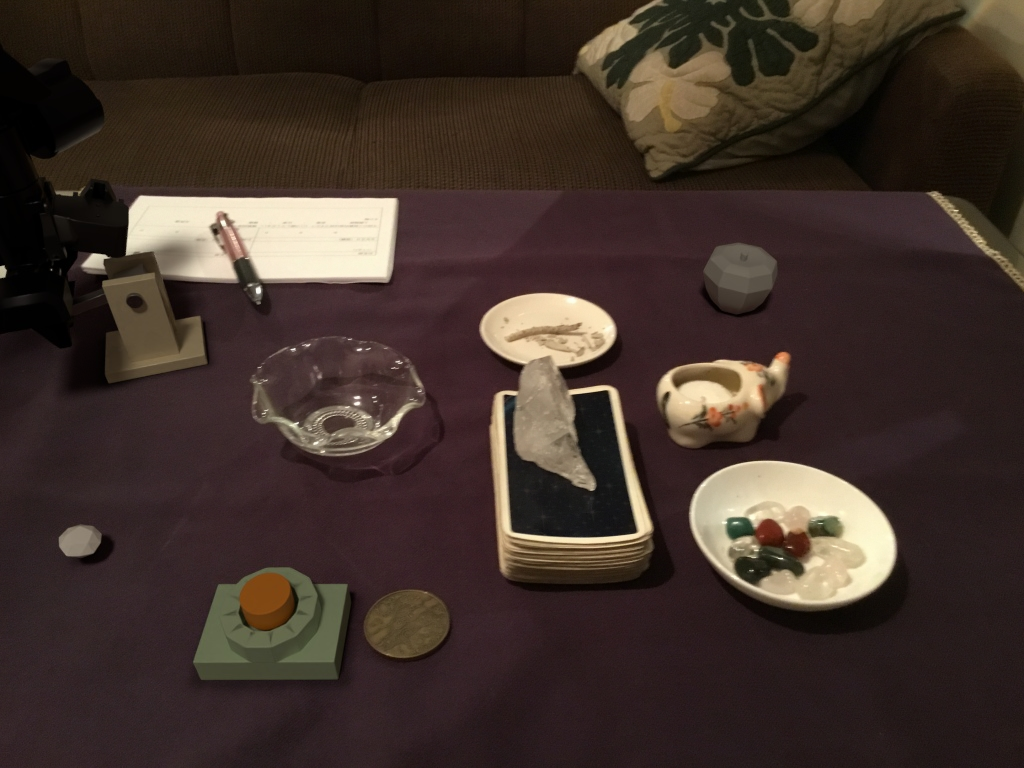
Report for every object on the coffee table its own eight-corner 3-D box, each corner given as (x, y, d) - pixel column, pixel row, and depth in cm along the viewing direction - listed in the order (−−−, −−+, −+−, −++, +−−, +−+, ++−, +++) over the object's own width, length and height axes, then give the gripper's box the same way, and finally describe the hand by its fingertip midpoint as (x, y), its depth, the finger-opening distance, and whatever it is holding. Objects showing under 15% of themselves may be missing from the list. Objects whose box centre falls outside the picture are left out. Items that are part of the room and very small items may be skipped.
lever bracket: (108, 384, 74) (73, 297, 68) (109, 341, 79) (76, 257, 73) (207, 364, 77) (182, 278, 71) (203, 324, 82) (178, 241, 76)
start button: (239, 630, 50) (233, 614, 49) (251, 588, 53) (246, 572, 52) (289, 630, 51) (284, 614, 49) (299, 588, 53) (294, 572, 52)
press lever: (46, 343, 72) (24, 317, 70) (48, 324, 74) (27, 298, 72) (158, 301, 73) (140, 274, 71) (157, 283, 75) (140, 256, 73)
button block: (200, 681, 52) (185, 647, 49) (225, 601, 56) (212, 567, 54) (338, 680, 52) (330, 647, 49) (351, 601, 56) (344, 567, 54)
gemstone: (52, 557, 58) (49, 534, 56) (86, 536, 60) (84, 513, 58) (77, 581, 58) (75, 559, 56) (111, 559, 60) (110, 536, 58)
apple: (776, 327, 83) (791, 274, 79) (701, 324, 83) (712, 271, 79) (761, 286, 89) (774, 234, 85) (691, 283, 89) (701, 232, 85)
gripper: (104, 219, 59) (161, 378, 69) (108, 126, 73) (155, 271, 83) (-64, 244, 56) (21, 407, 66) (-28, 142, 70) (38, 291, 80)
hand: (67, 337), depth 74 cm, fingers closed on press lever, 3 cm apart
